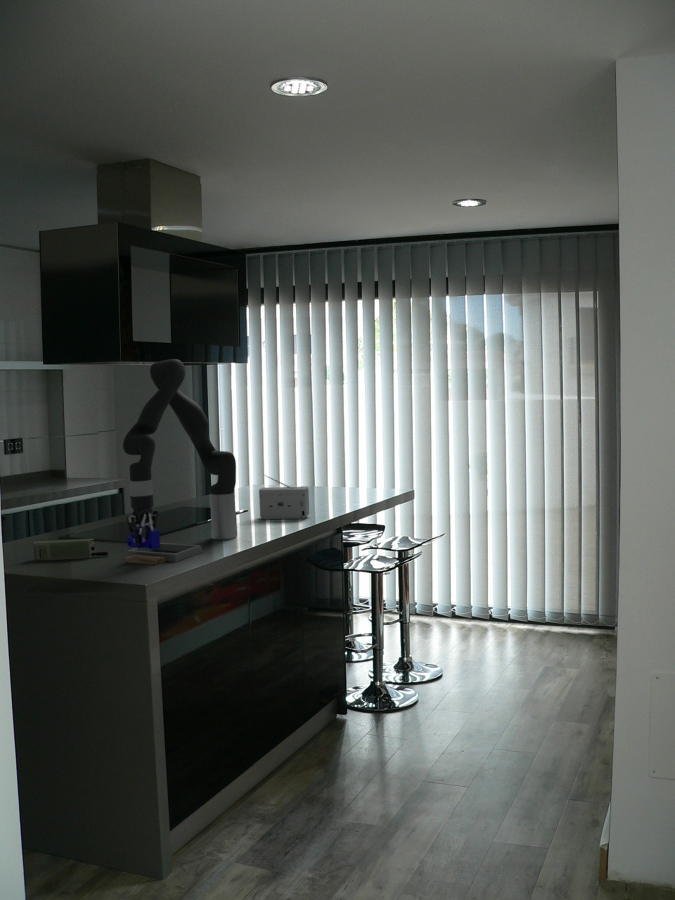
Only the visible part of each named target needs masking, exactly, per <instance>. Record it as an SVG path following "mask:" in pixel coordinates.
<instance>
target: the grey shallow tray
mask: <svg viewBox="0 0 675 900" xmlns="http://www.w3.org/2000/svg"><path fill="white" fill-rule="evenodd" d="M202 549H203V548H202V545H199V544H198V545H196V544H195V545H194V544H185V543H184V544H182V543H171V542H170V543H167V542H160V548H158V549H147V548H131V549H128V550H126V552H127V553H126V554H127V556H126V557H129V556H132V555H144V556H157V557H165V562H172V563H177V562H179V561H182V560H185V559H188V558H190V557H193V556H196V555H200V554H201V553H203V550H202ZM156 551H158V552H156ZM159 551H165V552H159ZM172 552H175V553H172Z"/></svg>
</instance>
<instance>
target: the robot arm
mask: <svg viewBox="0 0 675 900" xmlns="http://www.w3.org/2000/svg"><path fill="white" fill-rule="evenodd" d="M149 374H150V378H151V380H152V382H153V384H154V385H155V387H156V389H157V391H156V392H155V393H154V394H153V396H152V397H151V398H150V399H149V400H148V401H147V402H146V403H145V405H144V406H143V407H142V410H141V412H140V414H139V416H138V419H137V421H136V423H134V425H132V427H130V429H129V431H127V433H126V435H125V436H124V439H123V441H122V448H123V452H124V453H125V454H126V455H130V456H140V459H139V461H137V462H133V463H131V464H130V465H129V482H130V483H129V499H130V500H129V501H130V508H131V509H132V515H131V516H127V517H126V521H127V525H128V531H129V533H130V534H131V533H133V534H135V544H136V545H138V546H140V545H142V535H143V533H142V531H143V528H144V529H145V540H146V541H147V540H148V537H149V531H153V530H155V529H156V528H157V525H158V520H159V519H158V517H159V511H158V510H153V509H152V508H153V507H154V505H155V503H154V487H153V481H152V480H153V479H152V464H153V459H154V455H155V450H156V441H155V439H154V437H153V436H152V435H153V434H155V433H156V432H157V430H158V427H159V426H160V423H161V420H162V417H163V415H164V413H165V411H166V409H167V408H168V406H170V408H171V409H172V411H173V413H174V414H175V416H176V417H177V419H178V421H179V423H180V424H181V426H182V428H183V430H184V431H185V433H186V434H187V436H188V437H189V439H190V441H191V443H192V444H193V447H194V449H195V450H196V452H197V455H198V457H199V458H200V461H201V463H202V465H203V468H204V470H205V471H206V472H207V473H208V474H210V475H212V476H213V475H214V476H217V482H216V483H215V484H211V485H210V486H209V497H210V499H209V501H210V518H211V520H210V521H211V538H212V539H213V540H220V541H221V540H233V539H235V538H237V536H238V525H237V522H238V519H237V511H236V501H235V500H236V498H235V488H236V485H237V483H236V482H237V463H236V462H237V460H236V457H235V456H234V454H233V453H232V452H231V451H225V450H217V449H216V448H215V447H214V445H213V443H212V441H211V440H210V422H209V419H208V418H207V416H206V414H205V412H204V410H203V409H202V407H201V406H200V405H199V404H198V403H197V402H196V401H194V400H193V399H191V398H190V397H189V396H187V395H186V394H184V393H183V392H182V391H181V390H180V387H181V385H182V384H183V381H184V380H185V377H186V368H185V366H184V363H183V362H182V361H181V360H179V359H176V358H173V359H172V358H171V359H165V360H164V359H163V360H161V361H156V362H154V363H152V364H151V365H150V367H149ZM138 527H139V530H137V528H138ZM133 528H134V530H133ZM141 533H142V534H141Z"/></svg>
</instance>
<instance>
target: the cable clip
mask: <svg viewBox="0 0 675 900" xmlns="http://www.w3.org/2000/svg"><path fill="white" fill-rule="evenodd" d="M132 528H133V527H132ZM133 530H134V528H133ZM137 530H139V527H138V528H137ZM141 534H142V545H140V546H138V545H136V544H135V534H133V533H130V537H127V539H126V540H127V541H126V542H127V547H130V548H133V549H135V548H147V549H158V548H160V543H161V538H160V537H161V536H160V535H161V534H160V530H159V529H153V531H149V537H148V540H147V541H146V538H145V537H144V535H143V533H142V532H141Z"/></svg>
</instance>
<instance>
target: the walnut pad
mask: <svg viewBox="0 0 675 900" xmlns="http://www.w3.org/2000/svg"><path fill="white" fill-rule="evenodd" d="M124 562H125V563H130V564H132V563H133V564H143V565H153V564H157V565H159V563H160V564H162V562H163V563H164V562H166V561H165V557H157V556H144V555H132V556H129V557H127V556H126V557H124Z"/></svg>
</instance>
